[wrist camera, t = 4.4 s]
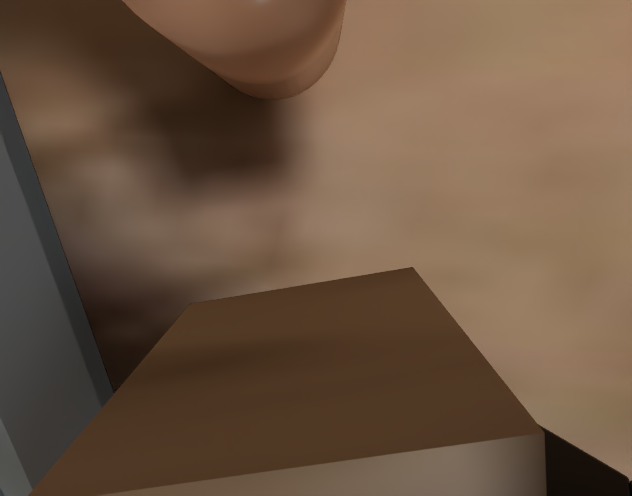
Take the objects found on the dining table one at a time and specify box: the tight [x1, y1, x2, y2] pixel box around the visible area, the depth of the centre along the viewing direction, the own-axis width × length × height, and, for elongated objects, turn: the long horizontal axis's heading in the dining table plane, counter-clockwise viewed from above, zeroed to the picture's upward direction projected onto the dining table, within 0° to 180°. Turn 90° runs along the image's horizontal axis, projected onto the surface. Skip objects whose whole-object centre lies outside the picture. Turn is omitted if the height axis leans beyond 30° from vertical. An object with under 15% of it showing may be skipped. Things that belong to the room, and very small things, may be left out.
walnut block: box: [28, 267, 547, 496], centre depth 7 cm, size 5×5×5 cm
